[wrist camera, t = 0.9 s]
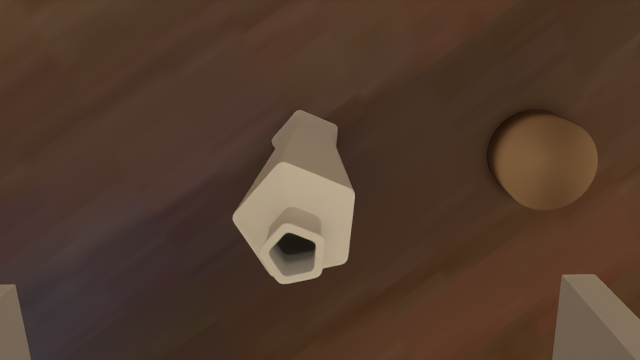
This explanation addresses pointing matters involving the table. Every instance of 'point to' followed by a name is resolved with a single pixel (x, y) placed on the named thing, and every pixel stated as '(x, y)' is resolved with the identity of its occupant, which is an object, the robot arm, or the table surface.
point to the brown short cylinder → (542, 159)
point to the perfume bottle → (299, 203)
